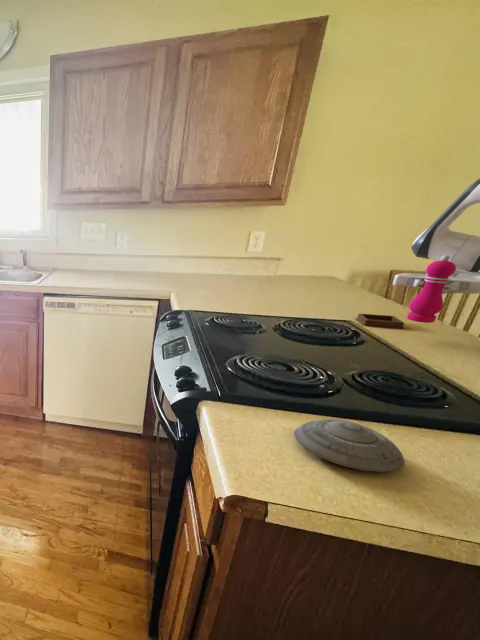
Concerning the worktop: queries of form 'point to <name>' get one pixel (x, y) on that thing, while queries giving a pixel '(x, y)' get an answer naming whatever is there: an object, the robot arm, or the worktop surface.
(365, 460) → the flying saucer
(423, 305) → the pepper mill
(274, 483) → the worktop surface
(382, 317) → the tray
